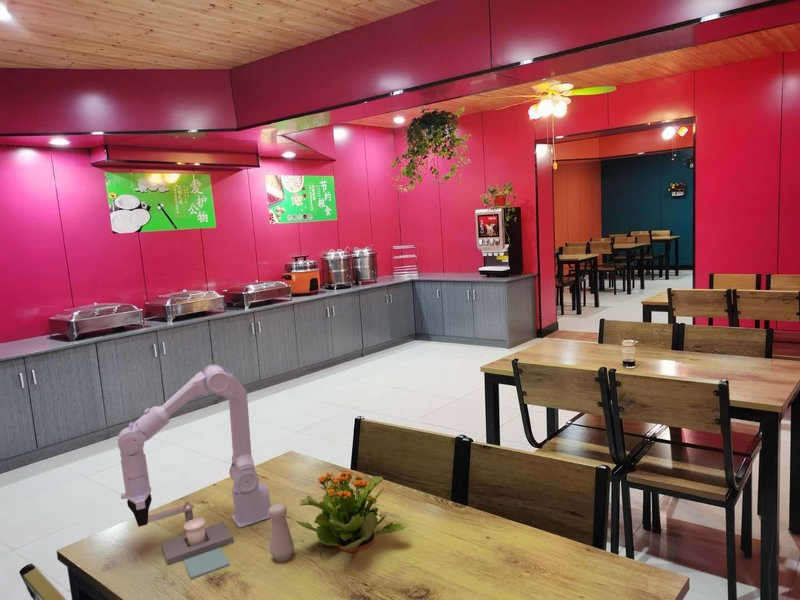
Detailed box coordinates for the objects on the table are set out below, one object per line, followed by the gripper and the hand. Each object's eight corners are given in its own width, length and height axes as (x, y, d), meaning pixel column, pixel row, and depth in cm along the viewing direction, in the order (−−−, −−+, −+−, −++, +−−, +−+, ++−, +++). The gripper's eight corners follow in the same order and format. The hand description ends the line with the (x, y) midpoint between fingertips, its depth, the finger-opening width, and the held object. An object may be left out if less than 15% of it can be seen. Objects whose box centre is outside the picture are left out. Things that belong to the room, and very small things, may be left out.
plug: (205, 537, 152) (202, 515, 151) (210, 545, 148) (207, 523, 147) (185, 544, 149) (182, 522, 149) (189, 553, 145) (185, 530, 144)
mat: (220, 548, 146) (220, 547, 146) (229, 565, 138) (229, 563, 138) (183, 561, 141) (183, 560, 141) (191, 579, 133) (190, 577, 133)
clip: (192, 506, 156) (191, 502, 156) (193, 510, 154) (193, 505, 154) (137, 522, 150) (136, 518, 150) (138, 526, 148) (137, 522, 147)
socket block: (223, 526, 157) (223, 521, 157) (233, 542, 148) (232, 536, 148) (161, 547, 149) (160, 542, 149) (167, 565, 140) (167, 559, 140)
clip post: (194, 529, 157) (191, 507, 156) (195, 532, 155) (192, 510, 154) (186, 531, 156) (183, 510, 155) (188, 535, 154) (185, 513, 153)
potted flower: (421, 526, 148) (416, 461, 146) (380, 580, 127) (372, 505, 125) (338, 513, 159) (331, 452, 156) (287, 561, 137) (278, 492, 135)
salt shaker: (289, 564, 136) (283, 512, 134) (266, 563, 137) (260, 512, 136) (298, 550, 142) (292, 500, 140) (276, 550, 143) (270, 500, 141)
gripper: (117, 469, 151) (124, 518, 153) (119, 489, 138) (127, 542, 140) (146, 462, 154) (153, 510, 156) (151, 481, 141) (158, 533, 143)
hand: (143, 525), depth 148 cm, fingers closed
